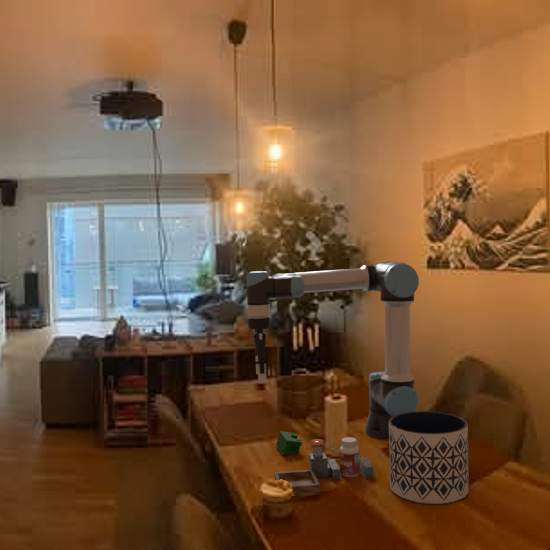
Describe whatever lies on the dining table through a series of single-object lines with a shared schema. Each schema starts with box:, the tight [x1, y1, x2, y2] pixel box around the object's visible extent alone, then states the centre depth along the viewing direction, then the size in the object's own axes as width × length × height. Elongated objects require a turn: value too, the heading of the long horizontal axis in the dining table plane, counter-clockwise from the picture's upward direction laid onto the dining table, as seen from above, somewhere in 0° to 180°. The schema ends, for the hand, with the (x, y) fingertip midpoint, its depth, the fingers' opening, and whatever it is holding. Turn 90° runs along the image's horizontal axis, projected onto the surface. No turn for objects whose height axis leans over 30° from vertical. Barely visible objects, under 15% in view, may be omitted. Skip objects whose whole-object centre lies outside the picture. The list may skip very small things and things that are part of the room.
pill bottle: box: [339, 436, 361, 478], centre depth 201 cm, size 6×6×11 cm
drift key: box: [310, 438, 325, 458], centre depth 199 cm, size 4×4×7 cm
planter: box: [388, 410, 470, 505], centre depth 186 cm, size 22×22×20 cm
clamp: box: [276, 430, 303, 457], centre depth 224 cm, size 12×6×9 cm, turn 8°
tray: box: [273, 469, 321, 497], centre depth 191 cm, size 12×12×3 cm
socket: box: [308, 452, 374, 482], centre depth 200 cm, size 19×9×6 cm, turn 96°
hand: (261, 378), depth 219 cm, fingers open, 13 cm apart
